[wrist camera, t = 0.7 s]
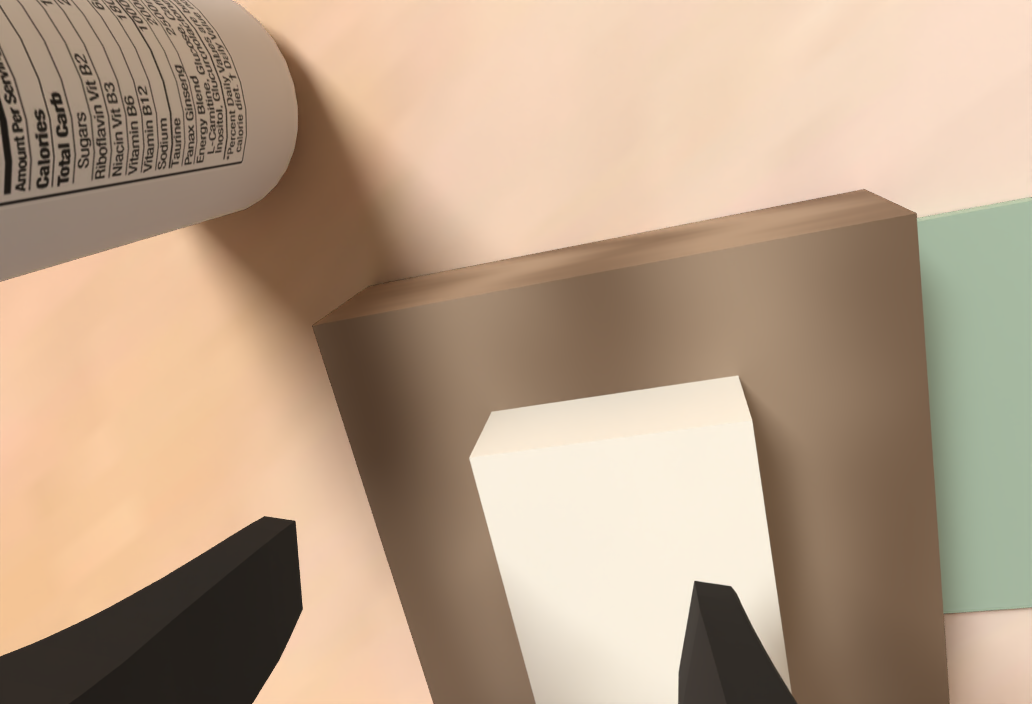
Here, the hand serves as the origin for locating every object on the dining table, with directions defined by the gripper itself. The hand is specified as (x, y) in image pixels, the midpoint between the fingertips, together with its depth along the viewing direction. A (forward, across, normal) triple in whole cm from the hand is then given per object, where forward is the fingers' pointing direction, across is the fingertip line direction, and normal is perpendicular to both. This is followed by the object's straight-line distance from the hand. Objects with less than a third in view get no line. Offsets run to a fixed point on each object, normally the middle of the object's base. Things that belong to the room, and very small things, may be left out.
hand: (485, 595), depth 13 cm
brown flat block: (+10, -3, +4) cm, 11 cm away
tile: (+5, -3, +2) cm, 6 cm away
